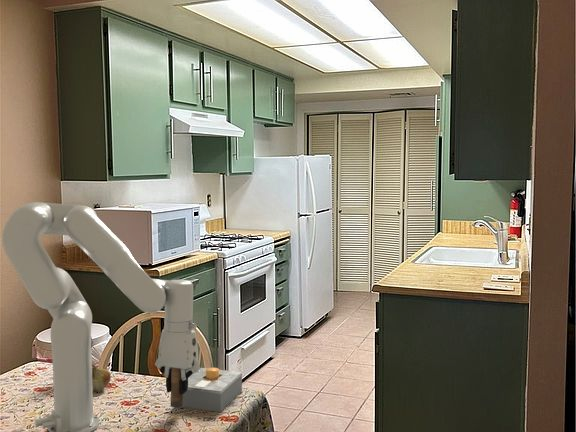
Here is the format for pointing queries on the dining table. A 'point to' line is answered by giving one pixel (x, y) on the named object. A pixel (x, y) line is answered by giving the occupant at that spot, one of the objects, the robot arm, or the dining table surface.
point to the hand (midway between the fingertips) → (176, 391)
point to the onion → (100, 378)
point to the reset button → (212, 373)
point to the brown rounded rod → (176, 388)
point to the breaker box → (212, 390)
